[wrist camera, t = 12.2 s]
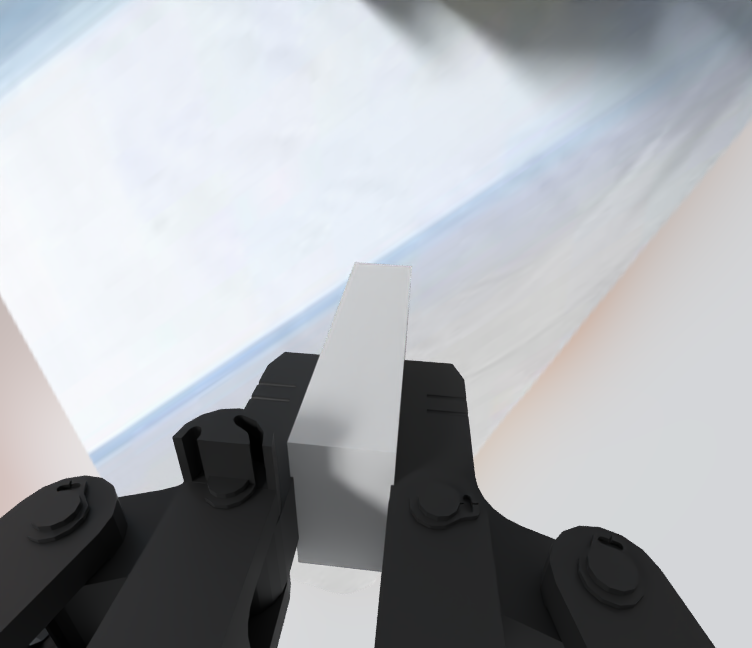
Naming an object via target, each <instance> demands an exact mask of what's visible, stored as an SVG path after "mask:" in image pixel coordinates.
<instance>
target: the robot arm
mask: <svg viewBox="0 0 752 648" xmlns="http://www.w3.org/2000/svg"><path fill="white" fill-rule="evenodd" d="M411 271H412V266H403V265H387V264H372V263H357V262H355V263H354V266H353V269H352V271H351V274H350V277H349V279H348V282H347V285H346V287H345V290H344V292H343V295H342V298H341V300H340V303H339V306H338V308H337V311H336V314H335V316H334V319H333V322H332V324H331V327H330V330H329V332H328V335H327V338H326V340H325V343H324V346H323V348H322V351H321V354H320V355H316V354H304V353H291V352H284V353H283V354H282V355H280V356H279V357H278V358H277V359H275V360H274V361H273V362H271V363H270V364H269V365H268V366H267V368H266V370H265V372H264V373H263V375H262V377H261V379H260V381H259V385H257V386H256V388H255V390H254V392H253V394H252V398H251V399H249V401H248V403H247V405H246V407H245V409H240V408H238V409H220V410H217V411H213V412H210V413H206V414H203V415H201V416H199V417H197V418H195V419H194V420H192V421H190V422H188V423H187V424H185V425H184V426H183V427H182V428H181V429H180V430H179V431H178V432H177V433H176V434H175V435H174V436H173V437H172V438H173V442H174V445H175V449H176V453H177V457H178V461H179V464H180V468H181V472H182V476H183V479H184V482H183V484H181V485H178V486H176V487H172V488H168V489H164V490H159V491H153V492H147V493H141V494H135V495H129V496H123V497H118V496H117V494H116V491H115V488H114V486H113V485H112V484H110V483H109V482H107V481H106V480H105V479H103V478H99V477H92V476H80V477H73V478H66V479H63V480H60V481H58V482H55V483H53V484H50V485H48V486H45V487H43V488H41V489H40V490H38V491H37V492H35V493H33V494H32V495H30V496H29V497H27V498H26V499H24V500H23V501H21V502H20V503H19V504H17V505H16V506H15V507H14V508H13V509H11V510H10V511H9V512H8V513H6V514H5V515H4V516H3V517H1V518H0V648H277V646H278V642H279V639H280V634H281V631H282V626H283V623H284V619H285V615H286V611H287V607H288V604H289V600H290V587H291V586H290V585H291V582H290V569H291V566H292V562H293V558H294V555H295V551H296V547H297V551H298V562H301V563H310V564H318V565H327V566H336V567H344V568H353V569H362V570H370V571H379V572H382V574H381V585H380V595H379V606H378V617H377V626H376V637H375V647H374V648H715V646H714V645H713V643H712V642H711V641H710V639H709V638H708V636H707V635H706V633H705V632H704V631H703V629H702V628H701V626H700V625H699V624H698V622H697V621H696V619H695V618H694V616H693V615H692V613H691V612H690V611H689V609H688V608H687V606H686V605H685V603H684V602H683V601H682V599H681V598H680V596H679V595H678V594H677V592H676V591H675V589H674V588H673V586H672V585H671V584H670V582H669V581H668V579H667V578H666V577H665V575H664V574H663V572H662V571H661V569H660V568H659V567H658V566H657V565H656V564H655V563H654V562H653V560H652V559H651V558H650V557H649V556H648V555H647V554H646V553H645V552H644V551H643V550H642V549H641V548H639V547H638V546H636V545H635V544H633V543H632V542H631V541H629V540H628V539H626V538H625V537H623V536H622V535H619V534H616V533H614V532H611V531H609V530H606V529H603V528H601V527H589V526H577V527H574V528H571V529H568V530H566V531H563V532H562V533H561V534H560V535H559V537H558V538H557V539H556V540H555V539H553V538H550V537H548V536H545V535H542V534H540V533H538V532H535V531H533V530H530V529H527V528H525V527H522V526H520V525H518V524H516V523H514V522H512V521H510V520H508V519H506V518H505V517H504V516H502V515H501V514H499V513H498V512H497V511H496V510H494V509H493V508H492V507H491V505H490V504H489V503H488V502H487V501H486V500H485V499H484V497H483V495H482V494H481V492H480V490H479V488H478V486H477V482H476V478H475V471H474V462H473V453H472V445H471V436H470V427H469V418H468V409H467V401H466V391H465V382H464V379H463V378H462V376H461V375H460V373H459V372H458V371H457V369H456V368H455V367H454V365H453V364H448V363H435V362H423V361H411V360H405V353H406V339H407V325H408V312H409V298H410V284H411Z"/></svg>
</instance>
